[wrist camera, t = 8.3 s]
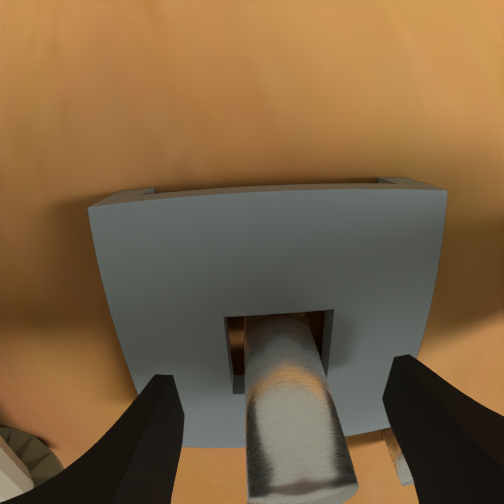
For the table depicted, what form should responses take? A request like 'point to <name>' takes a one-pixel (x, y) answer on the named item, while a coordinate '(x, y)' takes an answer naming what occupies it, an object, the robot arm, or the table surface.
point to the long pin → (291, 417)
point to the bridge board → (269, 286)
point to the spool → (24, 463)
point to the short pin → (397, 457)
